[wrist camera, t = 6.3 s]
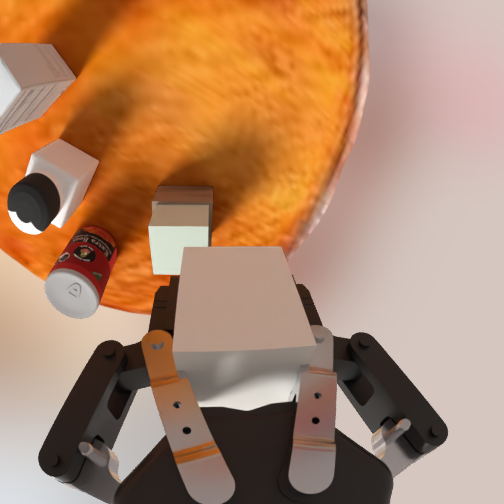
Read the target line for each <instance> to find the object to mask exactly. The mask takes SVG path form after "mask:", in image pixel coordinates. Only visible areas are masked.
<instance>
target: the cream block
mask: <svg viewBox="0 0 504 504" xmlns="http://www.w3.org/2000/svg"><path fill="white" fill-rule="evenodd" d="M316 346H317V344H316V342H315V339H314V336H313V333H312V330H311V327H310V324H309V322H308V319H307V316H306V313H305V310H304V308H303V305H302V302H301V299H300V296H299V294H298V291H297V288H296V285H295V283H294V280H293V277H292V274H291V272H290V269H289V266H288V264H287V261H286V258H285V256H284V253H283V250H282V248H281V246H246V247H184V249H183V256H182V264H181V271H180V279H179V288H178V297H177V306H176V315H175V326H174V337H173V349H172V352H173V357H174V361H175V366H176V370H178V371H184V373H186V375H187V377H188V380H189V382H190V385H191V387H192V390H193V392H194V395H195V397H196V400H197V402H198V405H199V407H227V408H233V409H239V410H245V411H249V410H252V409H256V408H259V407H262V406H265V405H268V404H271V403H280V402H288V398H289V394H290V392H291V391H292V390H293V388H294V385H295V382H296V379H297V374H298V370H299V367H300V365H305V364H310V362H311V359H312V356H313V354H314V351H315V348H316Z"/></svg>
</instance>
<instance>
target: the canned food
mask: <svg viewBox="0 0 504 504" xmlns="http://www.w3.org/2000/svg"><path fill="white" fill-rule="evenodd" d="M116 258H117V247H116V243H115V241H114V239H113V237H112V236H111V235H110V234H109V233H108V232H107V231H106V230H104V229H102V228H100V227H96V226H87V227H84V228H82V229H80V230H79V231H77V232H76V233H75V235H74V236H73V237H72V239H71V240H70V242H69V243H68V245H67V246H66V248H65V249H64V251H63V252H62V254H61V255H60V257H59V259H58V260H57V262H56V263H55V265H54V266H53V268H52V270H51V271H50V273H49V275H48V277H47V279H46V282H45V293H46V296H47V298H48V300H49V301H50V303H51V304H52V305H53V306H54V307H55V308H56V309H57V310H58V311H60V312H61V313H63V314H65V315H66V316H69V317H72V318H77V319H83V318H88V317H90V316H92V315H93V314H94V313H95V312H96V310H97V308H98V306H99V303H100V301H101V298H102V295H103V292H104V290H105V287H106V284H107V282H108V279H109V276H110V274H111V271H112V269H113V266H114V264H115V261H116Z"/></svg>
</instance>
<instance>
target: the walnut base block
mask: <svg viewBox="0 0 504 504" xmlns="http://www.w3.org/2000/svg"><path fill="white" fill-rule="evenodd" d="M156 205H209V223H208V247H211V238H212V215H213V186H158V188H157V190H156V193H155V195H154V197H153V199H152V214H153V212H154V209H155V207H156Z"/></svg>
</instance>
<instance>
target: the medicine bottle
mask: <svg viewBox="0 0 504 504" xmlns="http://www.w3.org/2000/svg"><path fill="white" fill-rule="evenodd" d="M98 164H99V161H98V160H97V159H95V158H93V157H92V156H90V155H88V154H86V153H85V152H83V151H81V150H79V149H77V148H76V147H74V146H72V145H70V144H69V143H67V142H65V141H63V140H62V139H57V140H55V141H53V142H51V143H50V144H48V145H46V146H44V147H43V148H41V149H39V150H37V151H36V152H34V153H33V154H32V155H31V158H30V162H29V165H28V168H27V172H26V175H25V177H24V178H23V179H22V180H20V181H19V182H18V183H16V184H15V185H14V186H13V187H12V188H11V190H10V192H9V195H8V211H9V215H10V217H11V219H12V221H13V222H14V224H15V225H16V226H17V227H18V228H19V229H20V230H22V231H23V232H25V233H29V234H39V233H41V232H43V231H44V230H45V229H46V228H47V227H48V226H49V224H50V223H52V224H54V225H55V226H57V227H59V228H61V227H63V225H64V224H65V223H66V221H67V220H68V219H69V218H70V216H71V215H72V214H73V213H74V211H75V210H76V209H77V208H78V207H79V205H80V204H81V203H82V200H83V198H84V195H85V193H86V191H87V188H88V186H89V184H90V181H91V179H92V177H93V175H94V173H95V170H96V168H97V166H98Z"/></svg>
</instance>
